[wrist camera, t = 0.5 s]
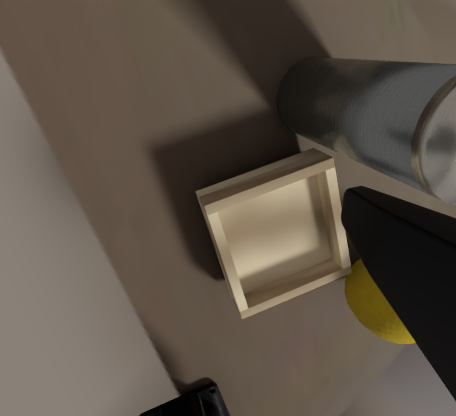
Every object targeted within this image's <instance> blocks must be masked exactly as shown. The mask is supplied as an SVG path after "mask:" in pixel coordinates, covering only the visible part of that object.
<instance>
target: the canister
mask: <svg viewBox="0 0 456 416" xmlns="http://www.w3.org/2000/svg"><path fill="white" fill-rule="evenodd" d="M277 107H278V112H279V115H280V117H281V120H282V121H283V123H284V124H285V125H286V127H288V128H289V129H290V130H291V131H293V132H294V133H297V134H299V135H301V136H303V137H305V138H307V139H310V140H312V141H314V142H316V143H318V144H320V145H323V146H325V147H327V148H329V149H331V150H333V151H336V152H338V153H340V154H342V155H344V156H346V157H349V158H351V159H353V160H355V161H357V162H359V163H362V164H364V165H366V166H368V167H370V168H372V169H375V170H377V171H379V172H381V173H383V174H385V175H388V176H390V177H392V178H394V179H396V180H398V181H401V182H403V183H405V184H407V185H409V186H411V187H414V188H416V189H418V190H420V191H422V192H424V193H427V194H429V195H431V196H433V197H435V198H437V199H440V200H442V201H444V202H446V203H448V204H450V205H453V206H456V64H439V63H419V62H399V61H379V60H360V59H340V58H320V57H313V58H307V59H304V60H302V61H300V62H298V63H297V64H295V65H294V66H293V67H292V68H291V69H290V70H289V71H288V72H287V73H286V75H285V76H284V78H283V80H282V82H281V84H280V87H279V90H278V95H277Z"/></svg>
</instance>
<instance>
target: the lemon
mask: <svg viewBox="0 0 456 416" xmlns="http://www.w3.org/2000/svg"><path fill="white" fill-rule="evenodd" d="M351 269H352V273H350V274H348V275H347V276H346V280H345V295H346V299H347V302H348V305H349V307H350V308H351V310H352V312H353V313H354V315H355V316H356V317H357V319H358V320H359V321H360V322H361V323H362V324H363V325H364V326H365V327H367V328H368V329H369V330H371V331H372V332H373V333H375V334H376V335H378V336H379V337H381V338H383V339H385V340H388V341H390V342H394V343H398V344H411V343H416V342H415V341H414V339H413V338H412V336H411V335H410V333H409V332H408V330H407V329H406V328H405V326H404V325H403V323H402V322H401V320H400V319H399V317H398V316H397V314H396V313H395V311H394V310H393V309H392V307H391V306H390V304H389V303H388V301H387V300H386V298H385V297H384V295H383V294H382V292H381V291H380V290H379V288H378V287H377V285H376V284H375V282H374V281H373V279H372V278H371V276H370V275H369V273H368V271H367V270H366V268H365V266H364V264H363V263H362V261H361V259H359V260H357V261H356V262H355V263H354V264H353V265H352V267H351Z"/></svg>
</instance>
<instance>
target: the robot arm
mask: <svg viewBox="0 0 456 416" xmlns="http://www.w3.org/2000/svg"><path fill="white" fill-rule="evenodd" d="M341 222H342V225H343V227H344V229H345V231H346V233H347V234H348V236H349V238H350V240H351V242H352V244H353V246H354V248H355V249H356V251H357V253H358V255H359V257H360V259H361V261H362V263H363V264H364V266H365V268H366V270H367V271H368V273H369V275H370V276H371V278H372V279H373V281H374V282H375V284H376V285H377V287H378V288H379V290H380V291H381V292H382V294H383V295H384V297H385V298H386V300H387V301H388V303H389V304H390V306H391V307H392V309H393V310H394V311H395V313H396V314H397V316H398V317H399V319H400V320H401V322H402V323H403V325H404V326H405V328H406V329H407V330H408V332H409V333H410V335H411V336H412V338H413V339H414V341H415V342H416V344H417V345H418V346H419V348H420V349H421V351H422V352H423V354H424V355H425V357H426V358H427V360H428V361H429V362H430V364H431V365H432V367H433V368H434V370H435V371H436V373H437V374H438V376H439V377H440V378H441V380H442V382H443V383H444V384H445V386H446V387H447V389H448V390H449V392H450V393H451V395H452V396H453V397H454V399H455V401H456V218H454V217H451V216H448V215H445V214H442V213H439V212H436V211H433V210H431V209H428V208H425V207H422V206H419V205H416V204H413V203H410V202H407V201H405V200H402V199H399V198H396V197H393V196H390V195H387V194H384V193H382V192H379V191H376V190H373V189H370V188H367V187H364V186H358V187H353V188H349V189H347V190H346V191H345V193H344V198H343V204H342V210H341ZM211 389H213V390H211ZM140 416H230V415H229V413H228V410H227V408H226V405H225V403H224V400H223V398H222V396H221V393H220V391H219V388H218V386H217V384H216V383H209V384H207V385H205V386H202V387H200V388H198V389H196V390H193V391H191V392H189V393H187V394H184V395H182V396H180V397H178V398H175V399H173V400H171V401H168V402H166V403H164V404H162V405H160V406H157V407H155V408H153V409H150V410H148V411H146V412H144V413H142V414H140Z"/></svg>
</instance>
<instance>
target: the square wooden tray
mask: <svg viewBox="0 0 456 416" xmlns="http://www.w3.org/2000/svg"><path fill="white" fill-rule="evenodd" d="M195 192H196V195H197V198H198V201H199V204H200V206H201V209H202V212H203V215H204V218H205V221H206V224H207V227H208V230H209V233H210V236H211V239H212V242H213V245H214V248H215V251H216V253H217V256H218V259H219V262H220V265H221V268H222V271H223V274H224V277H225V280H226V283H227V286H228V289H229V292H230V295H231V297H232V300H233V302H234V304H235V306H236V308H237V310H238V312H239V314H240V316H241V318H242V319H244V318H246V317H249V316H251V315H253V314H256V313H258V312H260V311H263V310H265V309H268V308H270V307H272V306H275V305H277V304H279V303H282V302H284V301H286V300H289V299H291V298H294V297H296V296H298V295H301V294H303V293H305V292H308V291H310V290H312V289H315V288H317V287H320V286H322V285H324V284H327V283H329V282H331V281H334V280H336V279H338V278H341V277H343V276H346V275H348V274H350V273H352V269H351V263H350V257H349V251H348V245H347V239H346V232H345V229H344V227H343V225H342V222H341V210H342V208H341V202H340V196H339V190H338V184H337V178H336V171H335V165H334V159H333V157H331V156H329V155H327V154H325V153H323V152H321V151H319V150H317V149H315V148H312V149H309V150H307V151H304V152H301V153H298V154H296V155H293V156H290V157H288V158H285V159H282V160H279V161H277V162H274V163H271V164H269V165H266V166H263V167H260V168H258V169H255V170H252V171H250V172H247V173H244V174H241V175H239V176H236V177H233V178H231V179H228V180H225V181H222V182H220V183H217V184H214V185H212V186H209V187H206V188H203V189H201V190H198V191H195Z"/></svg>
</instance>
